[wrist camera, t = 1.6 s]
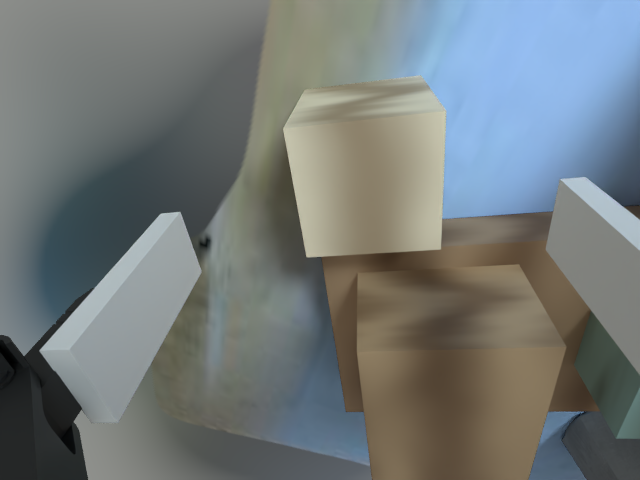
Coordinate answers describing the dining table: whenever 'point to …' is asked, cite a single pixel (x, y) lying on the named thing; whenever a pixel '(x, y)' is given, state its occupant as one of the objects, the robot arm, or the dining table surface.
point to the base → (471, 351)
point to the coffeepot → (601, 449)
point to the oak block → (368, 167)
